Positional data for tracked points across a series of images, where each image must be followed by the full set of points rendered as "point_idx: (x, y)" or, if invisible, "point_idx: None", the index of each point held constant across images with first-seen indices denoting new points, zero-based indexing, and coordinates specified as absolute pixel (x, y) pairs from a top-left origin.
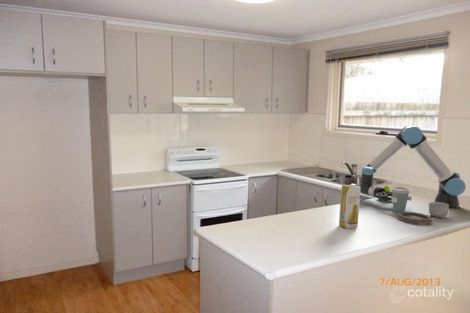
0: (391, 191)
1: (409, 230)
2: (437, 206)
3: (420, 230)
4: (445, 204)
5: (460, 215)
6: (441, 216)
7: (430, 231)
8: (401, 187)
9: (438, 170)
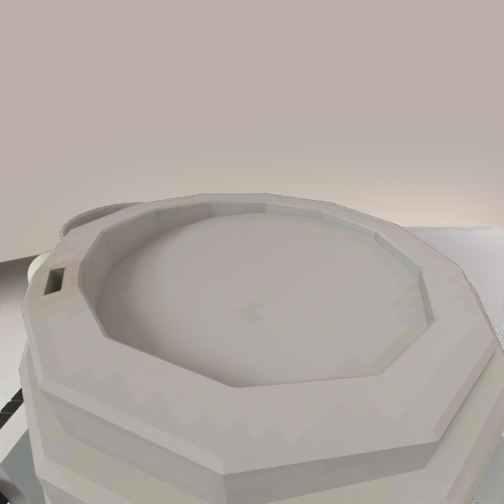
0: (499, 435)
1: (497, 246)
2: None
3: (439, 237)
4: (86, 219)
5: (29, 265)
6: None
7: (402, 227)
8: (81, 270)
9: None
